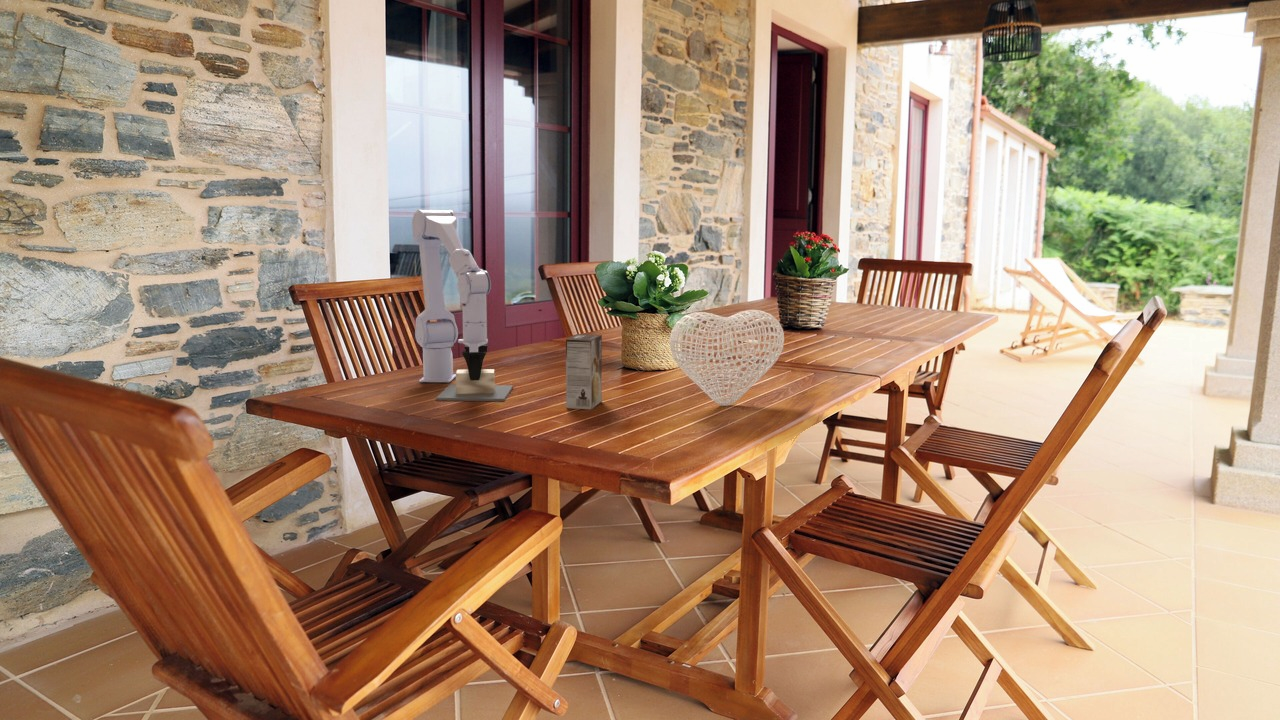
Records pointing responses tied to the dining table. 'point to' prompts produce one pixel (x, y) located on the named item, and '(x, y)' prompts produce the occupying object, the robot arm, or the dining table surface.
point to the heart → (727, 320)
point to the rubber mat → (498, 395)
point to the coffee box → (583, 371)
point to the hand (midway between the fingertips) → (475, 377)
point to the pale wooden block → (475, 382)
